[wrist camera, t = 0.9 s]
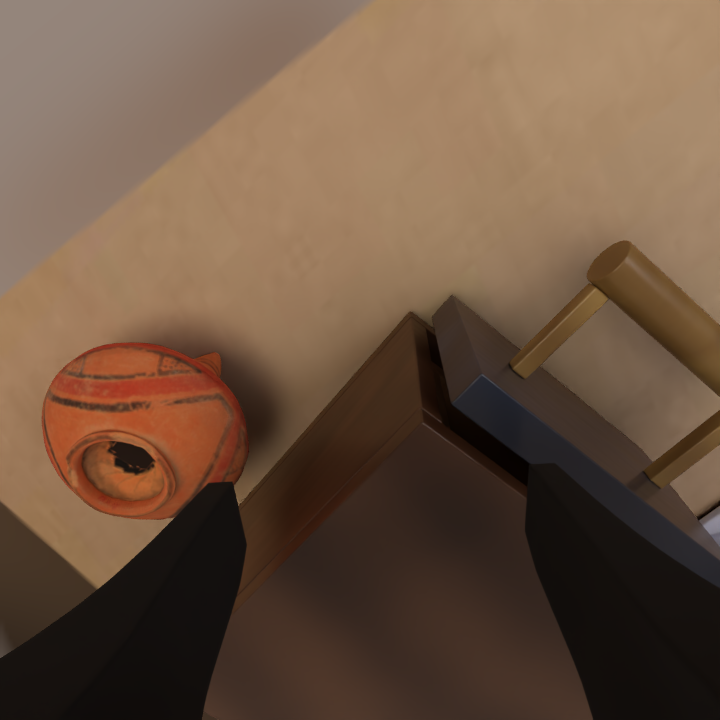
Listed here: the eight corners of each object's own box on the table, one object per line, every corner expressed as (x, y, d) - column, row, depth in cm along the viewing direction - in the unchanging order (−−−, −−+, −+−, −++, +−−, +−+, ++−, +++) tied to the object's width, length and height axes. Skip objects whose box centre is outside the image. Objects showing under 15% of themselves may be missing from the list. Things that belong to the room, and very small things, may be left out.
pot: (130, 267, 21) (76, 350, 15) (285, 366, 24) (290, 463, 19) (37, 400, 23) (-40, 515, 18) (190, 473, 27) (169, 589, 21)
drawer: (546, 188, 18) (636, 217, 12) (742, 368, 21) (912, 480, 14) (271, 494, 24) (225, 630, 18) (445, 608, 26) (463, 767, 20)
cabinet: (410, 310, 21) (422, 421, 13) (612, 470, 24) (731, 650, 15) (233, 511, 26) (158, 688, 18) (418, 627, 28) (428, 831, 20)
